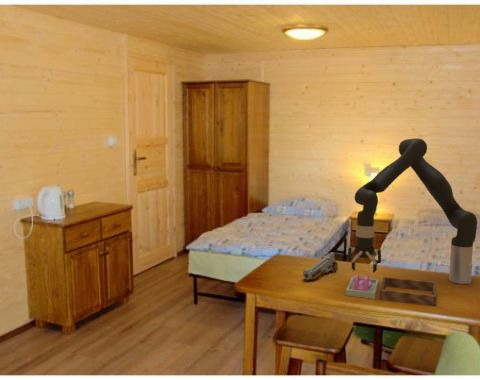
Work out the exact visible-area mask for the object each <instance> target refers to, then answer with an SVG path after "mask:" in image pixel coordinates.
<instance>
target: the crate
mask: <svg viewBox="0 0 480 380" xmlns="http://www.w3.org/2000/svg"><path fill="white" fill-rule="evenodd" d="M436 286H437V285H436V282H435V281H429V280H428V281H427V280H420V279H419V280H417V279H410V278H409V279H408V278H398V277H387V276H383V278H382V282H381V284H380V289H379V300H382V301H389V302H399V303H406V304H407V303H408V304H415V305H424V306H425V305H426V306H432V307H436V306H437V288H436ZM386 287H389V288H399V289H407V290H415V291H423V292H424V291H427V292H432V294H422V293H415V292H406V291H405V292H404V291H395V290H388V289H386Z"/></svg>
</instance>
